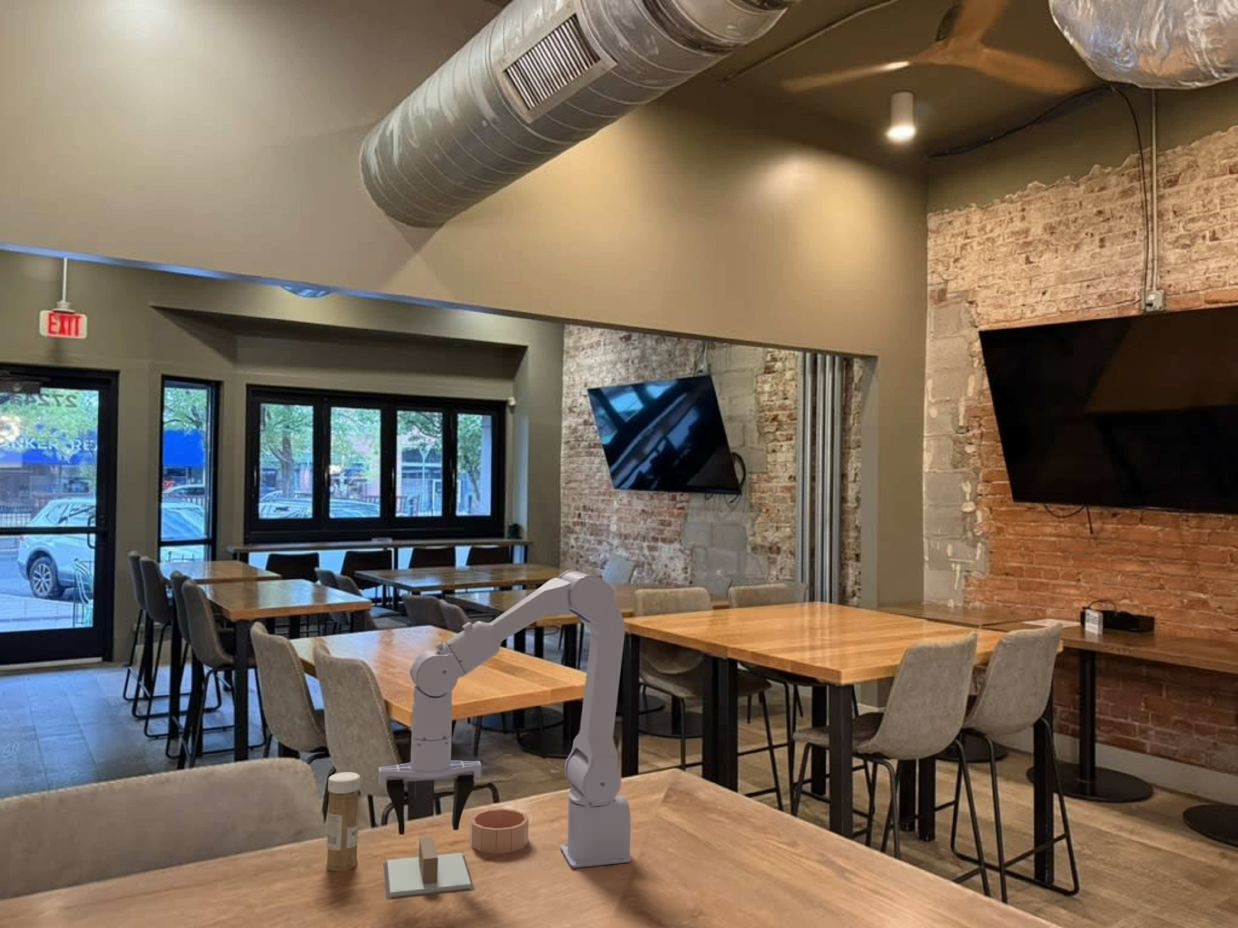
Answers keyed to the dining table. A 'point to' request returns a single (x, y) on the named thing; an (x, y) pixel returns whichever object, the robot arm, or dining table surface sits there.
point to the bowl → (499, 831)
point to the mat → (423, 893)
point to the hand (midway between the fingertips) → (428, 829)
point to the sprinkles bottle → (342, 821)
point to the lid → (427, 871)
